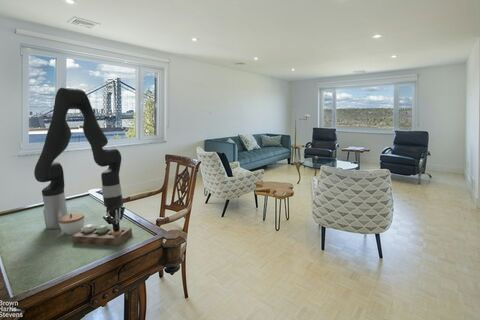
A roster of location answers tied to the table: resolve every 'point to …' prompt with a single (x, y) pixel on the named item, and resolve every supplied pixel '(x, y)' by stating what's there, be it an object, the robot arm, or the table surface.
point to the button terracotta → (116, 232)
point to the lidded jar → (71, 223)
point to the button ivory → (88, 228)
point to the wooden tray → (102, 237)
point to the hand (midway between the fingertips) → (116, 231)
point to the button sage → (102, 229)
